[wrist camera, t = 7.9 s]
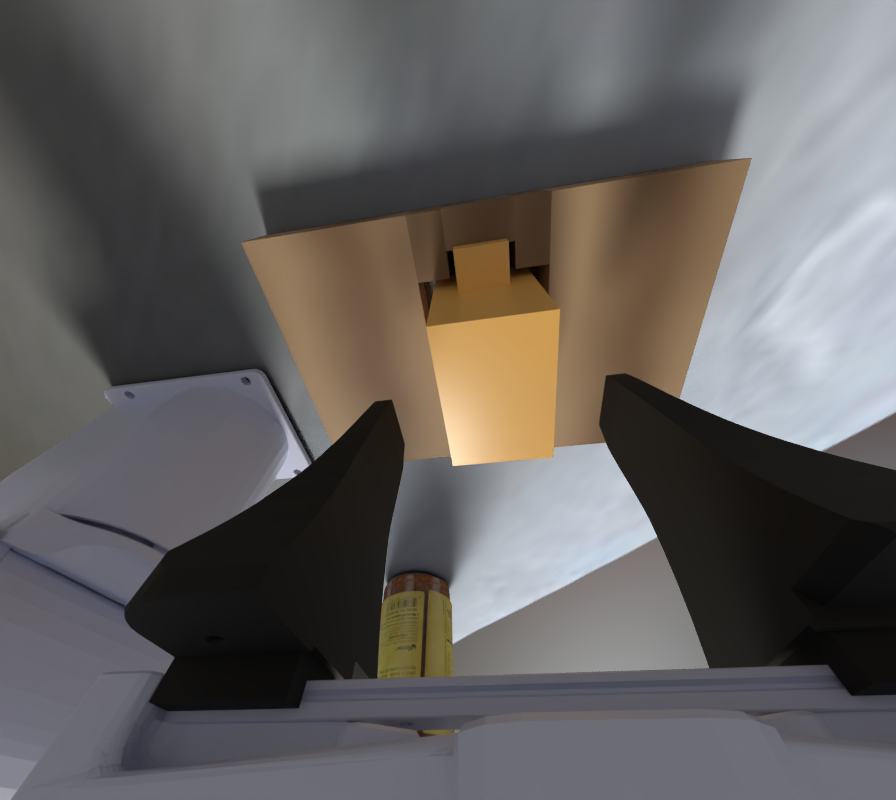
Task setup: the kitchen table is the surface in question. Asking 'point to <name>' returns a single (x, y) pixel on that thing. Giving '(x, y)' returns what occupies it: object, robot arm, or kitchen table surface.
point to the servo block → (494, 357)
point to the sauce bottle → (416, 631)
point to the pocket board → (530, 244)
